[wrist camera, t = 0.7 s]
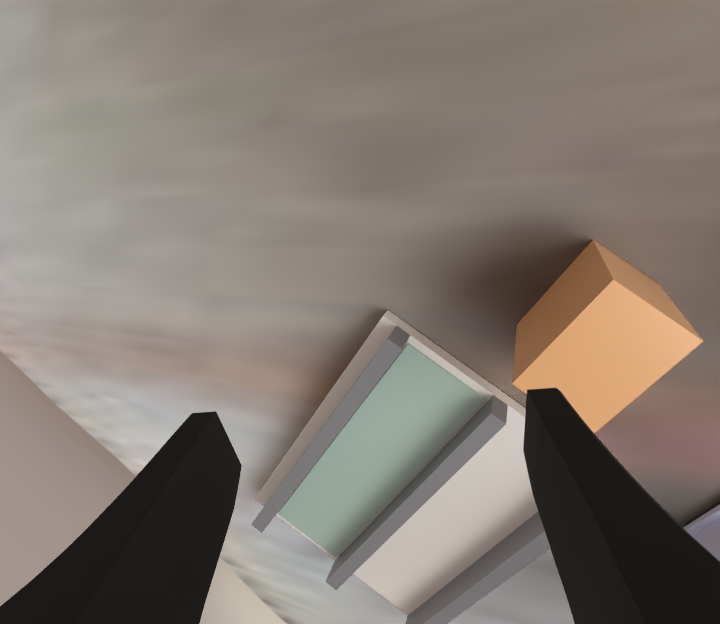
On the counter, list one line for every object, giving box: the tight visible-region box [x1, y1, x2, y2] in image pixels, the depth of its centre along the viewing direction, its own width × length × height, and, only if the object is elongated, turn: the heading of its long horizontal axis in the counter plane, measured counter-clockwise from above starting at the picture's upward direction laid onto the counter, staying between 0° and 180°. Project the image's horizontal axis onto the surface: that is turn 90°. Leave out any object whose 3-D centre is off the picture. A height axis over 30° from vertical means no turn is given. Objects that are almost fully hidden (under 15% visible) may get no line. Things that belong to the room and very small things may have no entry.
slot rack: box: [251, 310, 550, 624], centre depth 32 cm, size 17×20×3 cm
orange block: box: [512, 240, 703, 433], centre depth 22 cm, size 4×6×7 cm, turn 149°
